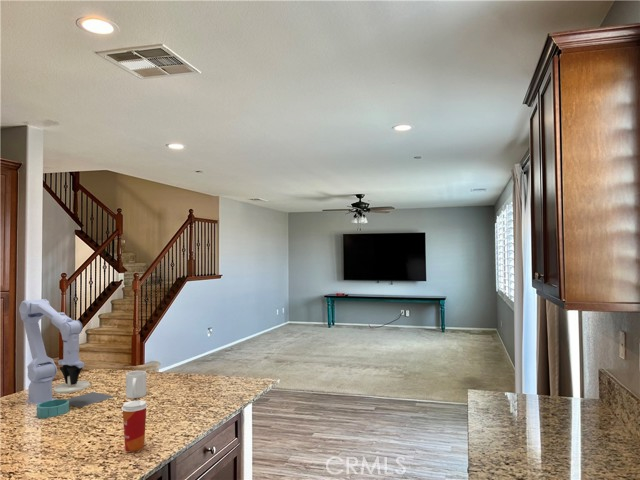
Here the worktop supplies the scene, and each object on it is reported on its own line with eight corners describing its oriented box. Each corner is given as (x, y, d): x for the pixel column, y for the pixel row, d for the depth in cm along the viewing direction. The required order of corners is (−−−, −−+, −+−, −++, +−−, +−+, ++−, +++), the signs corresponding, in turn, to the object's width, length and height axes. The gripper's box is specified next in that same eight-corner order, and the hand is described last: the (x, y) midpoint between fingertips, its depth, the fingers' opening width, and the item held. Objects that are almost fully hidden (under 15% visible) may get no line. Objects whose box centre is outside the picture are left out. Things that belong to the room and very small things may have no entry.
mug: (143, 401, 194) (143, 376, 195) (122, 402, 192) (122, 378, 193) (147, 393, 206) (147, 370, 206) (127, 394, 204) (127, 371, 204)
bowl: (30, 415, 178) (30, 405, 178) (58, 407, 187) (58, 397, 188) (47, 420, 172) (47, 409, 173) (74, 411, 182) (74, 401, 182)
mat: (58, 402, 194) (58, 401, 194) (92, 392, 208) (92, 391, 208) (81, 408, 186) (81, 407, 186) (115, 397, 200) (115, 396, 200)
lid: (47, 390, 186) (46, 378, 186) (77, 381, 198) (77, 370, 198) (65, 394, 180) (65, 382, 180) (96, 385, 191) (95, 373, 191)
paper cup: (126, 443, 149) (126, 400, 150) (150, 442, 150) (150, 399, 150) (117, 453, 141) (117, 407, 142) (143, 452, 142) (143, 406, 143)
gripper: (51, 350, 189) (51, 384, 189) (72, 353, 182) (72, 388, 182) (67, 347, 195) (67, 379, 195) (89, 350, 188) (89, 383, 188)
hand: (71, 383), depth 189 cm, fingers closed on lid, 3 cm apart
